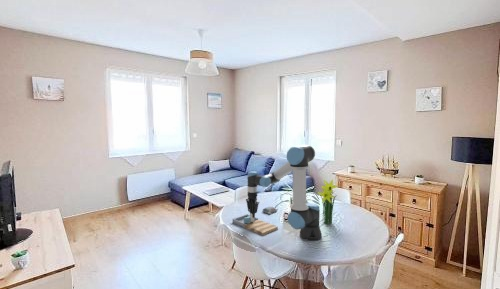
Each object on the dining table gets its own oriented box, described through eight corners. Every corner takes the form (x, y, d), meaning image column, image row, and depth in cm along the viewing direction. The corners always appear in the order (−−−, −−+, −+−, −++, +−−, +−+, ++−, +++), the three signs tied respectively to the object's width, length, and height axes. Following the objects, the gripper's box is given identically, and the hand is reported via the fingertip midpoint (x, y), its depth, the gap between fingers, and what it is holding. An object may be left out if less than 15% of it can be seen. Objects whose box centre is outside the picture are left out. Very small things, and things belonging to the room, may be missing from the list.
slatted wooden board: (277, 229, 199) (277, 226, 199) (263, 235, 188) (263, 232, 188) (258, 222, 214) (258, 219, 213) (244, 227, 202) (244, 224, 202)
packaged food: (278, 212, 235) (278, 207, 234) (269, 216, 227) (269, 210, 226) (270, 210, 241) (270, 204, 241) (261, 213, 233) (261, 208, 232)
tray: (258, 221, 214) (258, 218, 214) (243, 227, 203) (243, 223, 203) (247, 217, 223) (247, 214, 223) (232, 222, 212) (232, 219, 212)
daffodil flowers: (331, 230, 197) (332, 183, 194) (313, 225, 207) (314, 180, 204) (341, 223, 210) (342, 179, 207) (324, 219, 219) (324, 177, 217)
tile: (254, 221, 210) (253, 216, 210) (249, 223, 205) (248, 218, 206) (249, 221, 214) (248, 216, 214) (244, 223, 210) (243, 218, 210)
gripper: (261, 192, 203) (261, 222, 205) (250, 189, 212) (250, 217, 214) (254, 193, 198) (255, 224, 200) (243, 190, 207) (243, 220, 209)
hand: (252, 221), depth 207 cm, fingers closed
